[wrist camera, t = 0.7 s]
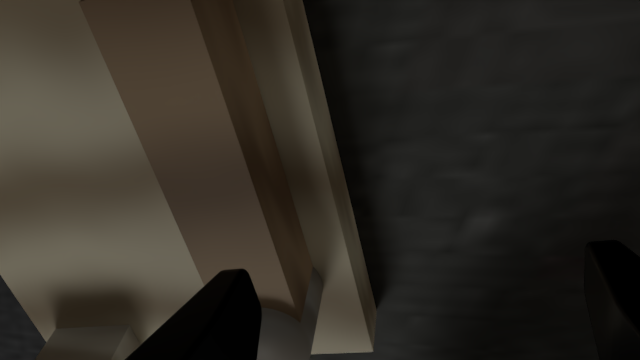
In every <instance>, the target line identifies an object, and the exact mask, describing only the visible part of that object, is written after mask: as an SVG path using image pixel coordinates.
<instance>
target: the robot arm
mask: <svg viewBox="0 0 640 360" xmlns="http://www.w3.org/2000/svg"><path fill="white" fill-rule="evenodd" d="M584 290H585V297H586V302H587V307H588V311H589V315H590V320H591V324H592V328H593V333H594V337H595V341H596V346H597V350H598V354H599V359H600V360H640V257H639V256H638V255H636V254H635V253H634V252H633V251H631V250H630V249H629V248H627V247H626V246H625V245H624V244H622V243H621V242H619V241H616V240H607V241H594V242H589V243H588V244H587V245H586V247H585V267H584ZM261 321H262V308H261V304H260V301H259V298H258V296H257V293H256V290H255V288H254V285H253V283H252V280H251V277H250V275H249V273H248V272H247V270H245V269H242V268H240V269H226V270H222V271H220V272H219V273H218V274H216V275H215V276H214V277H213V278H212V279H211V280H210V281H209V282H208V283H207V284H206V285H205V286H204V287H202V288H201V289H200V290H199V291H198V292H197V293H196V294H195V295H194V296H193V297H192V298H191V299H189V300H188V301H187V302H186V303H185V304H184V305H183V306H182V307H181V308H180V309H179V310H178V311H176V312H175V313H174V314H173V315H172V316H171V317H170V318H169V319H168V320H167V321H166V322H165V323H163V324H162V325H161V326H160V327H159V328H158V329H157V330H156V331H155V332H154V333H153V334H152V335H151V336H149V337H148V338H147V339H146V340H145V341H144V342H143V343H142V344H141V345H140V346H139V347H138V348H136V349H135V350H134V351H133V352H132V353H131V354H130V355H129V356H128V357H127V358H126V359H125V360H257V354H258V345H259V337H260V329H261Z"/></svg>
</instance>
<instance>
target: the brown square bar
mask: <svg viewBox="0 0 640 360" xmlns="http://www.w3.org/2000/svg"><path fill="white" fill-rule="evenodd" d="M79 4H80V7H81V9H82V11H83V13H84V16H85V18H86V20H87V22H88V25H89V27H90V29H91V31H92V34H93V36H94V38H95V40H96V43H97V45H98V47H99V50H100V52H101V54H102V56H103V59H104V61H105V63H106V65H107V68H108V70H109V72H110V74H111V77H112V79H113V81H114V83H115V86H116V88H117V90H118V92H119V95H120V97H121V99H122V101H123V104H124V106H125V108H126V110H127V113H128V115H129V117H130V119H131V122H132V124H133V126H134V128H135V131H136V133H137V135H138V138H139V140H140V142H141V144H142V147H143V149H144V151H145V153H146V156H147V158H148V160H149V162H150V165H151V167H152V169H153V171H154V174H155V176H156V178H157V180H158V183H159V185H160V187H161V189H162V192H163V194H164V196H165V198H166V201H167V203H168V205H169V207H170V210H171V212H172V214H173V217H174V219H175V221H176V223H177V226H178V228H179V230H180V232H181V235H182V237H183V239H184V241H185V244H186V246H187V248H188V250H189V253H190V255H191V257H192V259H193V262H194V264H195V266H196V268H197V271H198V273H199V275H200V277H201V280H202V282H203V284H204V286H205V285H206V284H207V283H208V282H209V281H210V280H211V279H212V278H213V277H214V276H215V275H216V274H218V273H219V272H220V271H222V270H226V269H240V268H242V269H245V270H247V272H248V273H249V275H250V277H251V280H252V283H253V285H254V288H255V290H256V293H257V296H258V298H259V301H260V304H261V308H262V321H261V329H260V337H259V345H258V354H257V360H310V356H311V351H312V345H313V340H314V335H315V330H316V324H317V319H318V314H319V309H320V303H321V298H322V293H323V282H322V279H321V276H320V275H319V273H318V271H317V270H316V269H315V268H314V267H313V265H312V261H311V258H310V255H309V251H308V248H307V245H306V242H305V238H304V235H303V232H302V228H301V225H300V222H299V218H298V215H297V212H296V209H295V205H294V202H293V199H292V195H291V192H290V189H289V185H288V182H287V179H286V175H285V172H284V169H283V166H282V162H281V159H280V156H279V152H278V149H277V146H276V142H275V139H274V136H273V133H272V129H271V126H270V123H269V119H268V116H267V113H266V109H265V106H264V103H263V99H262V96H261V93H260V90H259V86H258V83H257V80H256V76H255V73H254V70H253V66H252V63H251V60H250V57H249V53H248V50H247V47H246V43H245V40H244V37H243V33H242V30H241V27H240V23H239V20H238V17H237V14H236V10H235V7H234V4H233V0H80V1H79Z"/></svg>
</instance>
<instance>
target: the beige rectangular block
mask: <svg viewBox="0 0 640 360" xmlns="http://www.w3.org/2000/svg"><path fill="white" fill-rule="evenodd" d="M79 1H80V0H0V275H1V276H2V278H3V279H4V281H5V282H6V284H7V285H8V287H9V288H10V289H11V291H12V292H13V294H14V295H15V297H16V298H17V300H18V301H19V303H20V304H21V306H22V307H23V309H24V310H25V311H26V313H27V314H28V316H29V317H30V319H31V320H32V322H33V323H34V325H35V326H36V328H37V329H38V330H39V332H40V333H41V335H42V336H43V338H44V339H45V341H46V342H47V343H46V344H45V346H44V347H43V348H42V350H41V351H40V353H39V354H38V356H37V357H36V359H35V360H125V359H126V358H127V357H128V356H129V355H130V354H131V353H132V352H133V351H134V350H135V349H136V348H138V347H139V346H140V345H141V344H142V343H143V342H144V341H145V340H146V339H147V338H148V337H149V336H151V335H152V334H153V333H154V332H155V331H156V330H157V329H158V328H159V327H160V326H161V325H162V324H163V323H165V322H166V321H167V320H168V319H169V318H170V317H171V316H172V315H173V314H174V313H175V312H176V311H178V310H179V309H180V308H181V307H182V306H183V305H184V304H185V303H186V302H187V301H188V300H189V299H191V298H192V297H193V296H194V295H195V294H196V293H197V292H198V291H199V290H200V289H201V288H202V287H204V284H203V282H202V280H201V277H200V275H199V273H198V271H197V268H196V266H195V264H194V262H193V259H192V257H191V255H190V253H189V250H188V248H187V246H186V244H185V241H184V239H183V237H182V235H181V232H180V230H179V228H178V226H177V223H176V221H175V219H174V217H173V214H172V212H171V210H170V207H169V205H168V203H167V201H166V198H165V196H164V194H163V192H162V189H161V187H160V185H159V183H158V180H157V178H156V176H155V174H154V171H153V169H152V167H151V165H150V162H149V160H148V158H147V156H146V153H145V151H144V149H143V147H142V144H141V142H140V140H139V138H138V135H137V133H136V131H135V128H134V126H133V124H132V122H131V119H130V117H129V115H128V113H127V110H126V108H125V106H124V104H123V101H122V99H121V97H120V95H119V92H118V90H117V88H116V86H115V83H114V81H113V79H112V77H111V74H110V72H109V70H108V68H107V65H106V63H105V61H104V59H103V56H102V54H101V52H100V50H99V47H98V45H97V43H96V40H95V38H94V36H93V34H92V31H91V29H90V27H89V25H88V22H87V20H86V18H85V16H84V13H83V11H82V9H81V7H80V4H79ZM233 4H234V7H235V10H236V14H237V17H238V20H239V23H240V27H241V30H242V33H243V37H244V40H245V43H246V47H247V50H248V53H249V57H250V60H251V63H252V66H253V70H254V73H255V76H256V80H257V83H258V86H259V90H260V93H261V96H262V99H263V103H264V106H265V109H266V113H267V116H268V119H269V123H270V126H271V129H272V133H273V136H274V139H275V142H276V146H277V149H278V152H279V156H280V159H281V162H282V166H283V169H284V172H285V175H286V179H287V182H288V185H289V189H290V192H291V195H292V199H293V202H294V205H295V209H296V212H297V215H298V218H299V222H300V225H301V228H302V232H303V235H304V238H305V242H306V245H307V248H308V251H309V255H310V258H311V261H312V265H313V267H314V268H315V269H316V270H317V271H318V273H319V275H320V276H321V279H322V282H323V293H322V298H321V303H320V309H319V314H318V319H317V324H316V330H315V335H314V340H313V345H312V351H311V354H331V353H357V352H373V348H374V335H375V323H376V311H377V310H376V306H375V302H374V297H373V293H372V289H371V285H370V281H369V276H368V272H367V268H366V264H365V260H364V256H363V251H362V247H361V243H360V239H359V235H358V230H357V226H356V222H355V218H354V214H353V210H352V205H351V201H350V197H349V193H348V189H347V184H346V180H345V176H344V172H343V168H342V164H341V159H340V155H339V151H338V147H337V143H336V138H335V134H334V130H333V126H332V122H331V118H330V113H329V109H328V105H327V101H326V97H325V92H324V88H323V84H322V80H321V76H320V71H319V67H318V63H317V59H316V55H315V51H314V46H313V42H312V38H311V34H310V30H309V25H308V21H307V17H306V13H305V9H304V5H303V0H233Z"/></svg>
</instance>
